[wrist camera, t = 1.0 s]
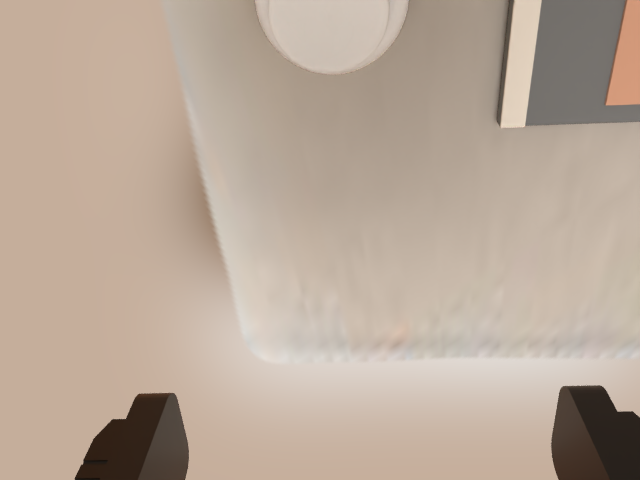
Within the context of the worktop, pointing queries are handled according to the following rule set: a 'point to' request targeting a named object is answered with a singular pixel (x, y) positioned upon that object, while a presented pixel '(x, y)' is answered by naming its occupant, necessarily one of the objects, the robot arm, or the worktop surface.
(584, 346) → the worktop surface
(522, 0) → the mat
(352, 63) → the supplement bottle
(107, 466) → the robot arm
